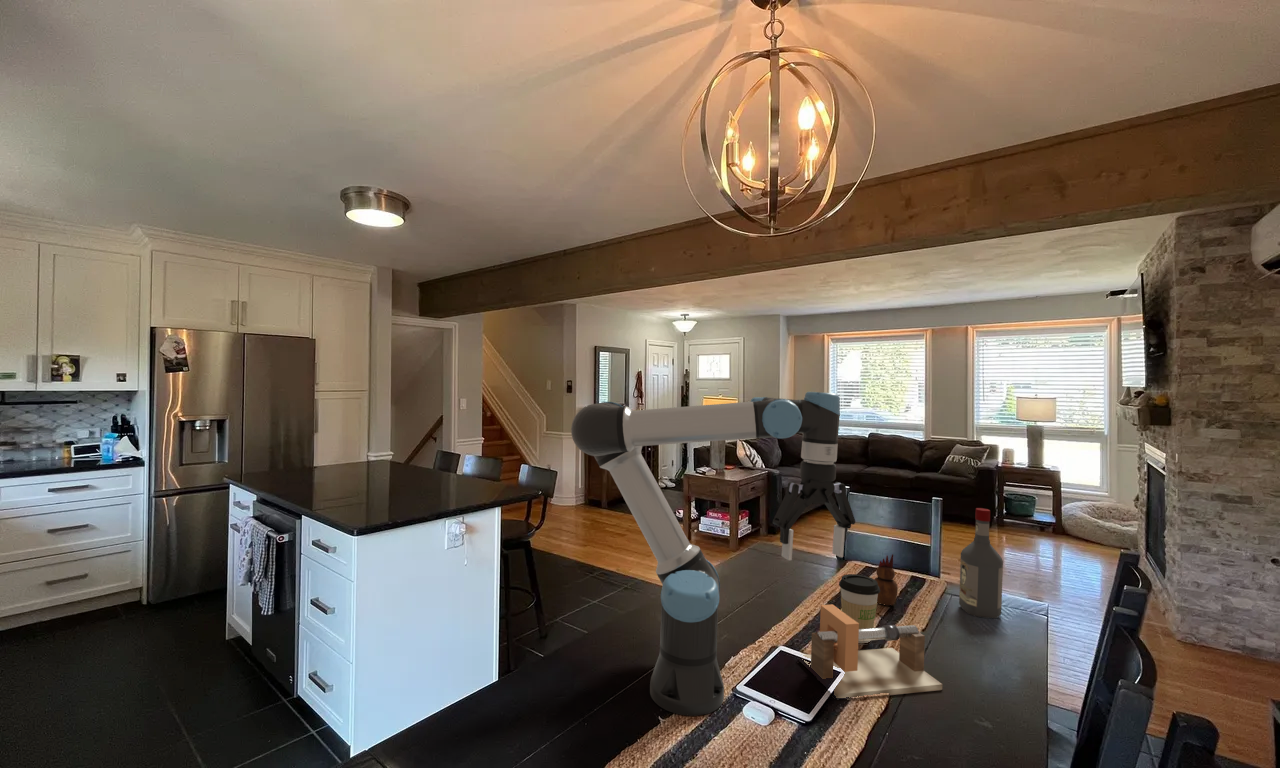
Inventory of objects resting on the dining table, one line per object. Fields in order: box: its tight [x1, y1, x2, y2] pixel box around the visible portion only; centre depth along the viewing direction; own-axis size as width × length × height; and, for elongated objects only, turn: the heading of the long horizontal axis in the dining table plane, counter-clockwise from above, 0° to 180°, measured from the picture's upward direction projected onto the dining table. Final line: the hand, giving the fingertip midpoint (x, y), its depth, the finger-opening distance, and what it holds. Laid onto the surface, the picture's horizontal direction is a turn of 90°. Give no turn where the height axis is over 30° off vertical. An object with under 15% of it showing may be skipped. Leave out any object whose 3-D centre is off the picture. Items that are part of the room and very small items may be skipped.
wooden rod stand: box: [802, 631, 943, 698], centre depth 120 cm, size 25×16×9 cm, turn 102°
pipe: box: [816, 624, 920, 643], centre depth 120 cm, size 24×3×3 cm, turn 102°
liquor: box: [958, 507, 1004, 620], centre depth 157 cm, size 9×9×30 cm
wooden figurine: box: [873, 554, 899, 606], centre depth 161 cm, size 7×6×15 cm
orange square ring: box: [819, 604, 859, 672], centre depth 118 cm, size 3×10×10 cm, turn 12°
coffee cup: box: [838, 573, 880, 643], centre depth 137 cm, size 10×10×15 cm
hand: (812, 556), depth 119 cm, fingers open, 13 cm apart
